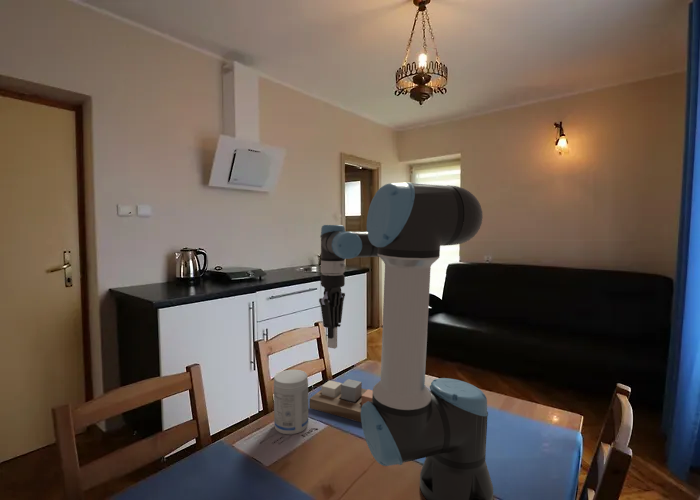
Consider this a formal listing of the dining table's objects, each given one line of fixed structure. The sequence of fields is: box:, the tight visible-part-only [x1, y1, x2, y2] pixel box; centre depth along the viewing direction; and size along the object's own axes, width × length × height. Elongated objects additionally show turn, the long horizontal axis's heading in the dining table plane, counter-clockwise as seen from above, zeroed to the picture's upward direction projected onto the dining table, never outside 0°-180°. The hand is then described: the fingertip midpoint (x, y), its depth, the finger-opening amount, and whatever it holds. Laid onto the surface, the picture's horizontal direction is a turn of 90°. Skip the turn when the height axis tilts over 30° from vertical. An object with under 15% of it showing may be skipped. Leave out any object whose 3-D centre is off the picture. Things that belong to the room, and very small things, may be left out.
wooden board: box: [309, 388, 368, 423], centre depth 114 cm, size 14×22×3 cm, turn 64°
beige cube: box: [321, 380, 343, 398], centre depth 117 cm, size 5×5×4 cm
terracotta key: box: [361, 389, 373, 405], centre depth 111 cm, size 5×5×4 cm
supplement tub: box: [273, 369, 309, 435], centre depth 102 cm, size 10×10×15 cm
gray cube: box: [341, 378, 363, 403], centre depth 114 cm, size 5×5×4 cm
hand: (332, 347), depth 116 cm, fingers closed
